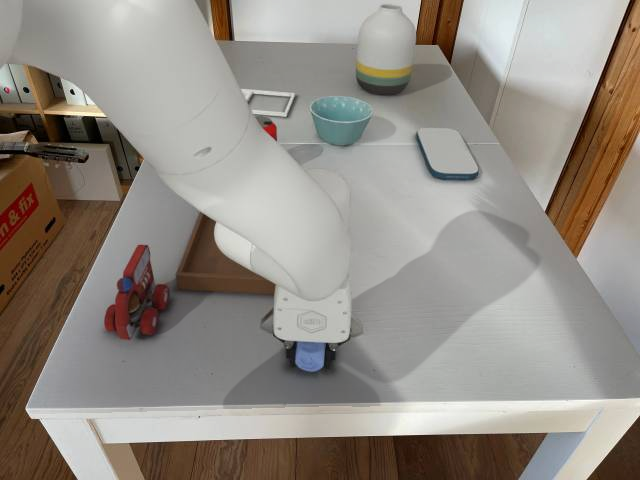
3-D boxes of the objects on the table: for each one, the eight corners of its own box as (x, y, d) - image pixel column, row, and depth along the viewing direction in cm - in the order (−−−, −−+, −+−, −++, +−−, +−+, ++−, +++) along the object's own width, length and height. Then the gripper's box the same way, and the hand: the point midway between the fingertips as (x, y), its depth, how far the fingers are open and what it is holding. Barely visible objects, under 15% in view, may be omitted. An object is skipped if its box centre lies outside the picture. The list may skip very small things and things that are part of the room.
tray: (283, 294, 83) (283, 280, 81) (178, 289, 83) (175, 275, 81) (295, 202, 104) (295, 188, 102) (212, 198, 104) (210, 184, 102)
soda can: (272, 181, 110) (271, 131, 103) (239, 176, 112) (236, 127, 104) (281, 164, 116) (280, 116, 109) (250, 160, 117) (247, 112, 110)
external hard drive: (413, 134, 131) (414, 127, 130) (456, 134, 132) (457, 128, 131) (431, 181, 113) (432, 173, 112) (480, 182, 113) (483, 174, 112)
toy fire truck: (102, 346, 73) (83, 295, 67) (133, 287, 83) (120, 239, 76) (148, 350, 73) (134, 300, 66) (174, 291, 82) (164, 242, 76)
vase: (355, 77, 162) (361, -3, 147) (407, 80, 161) (419, 0, 146) (353, 97, 149) (359, 12, 134) (409, 101, 148) (422, 16, 133)
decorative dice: (325, 351, 74) (326, 333, 71) (323, 373, 71) (324, 355, 68) (298, 348, 74) (299, 330, 72) (295, 370, 71) (295, 352, 68)
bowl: (366, 125, 134) (369, 96, 129) (373, 153, 122) (376, 122, 117) (308, 124, 134) (309, 94, 129) (309, 152, 121) (310, 120, 116)
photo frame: (235, 87, 148) (294, 92, 147) (235, 91, 149) (294, 96, 148) (222, 107, 137) (286, 113, 136) (222, 111, 138) (286, 116, 136)
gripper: (241, 283, 58) (249, 378, 69) (384, 290, 58) (369, 384, 69) (250, 243, 64) (256, 337, 75) (380, 250, 64) (367, 342, 75)
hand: (310, 359), depth 72 cm, fingers closed on decorative dice, 4 cm apart
